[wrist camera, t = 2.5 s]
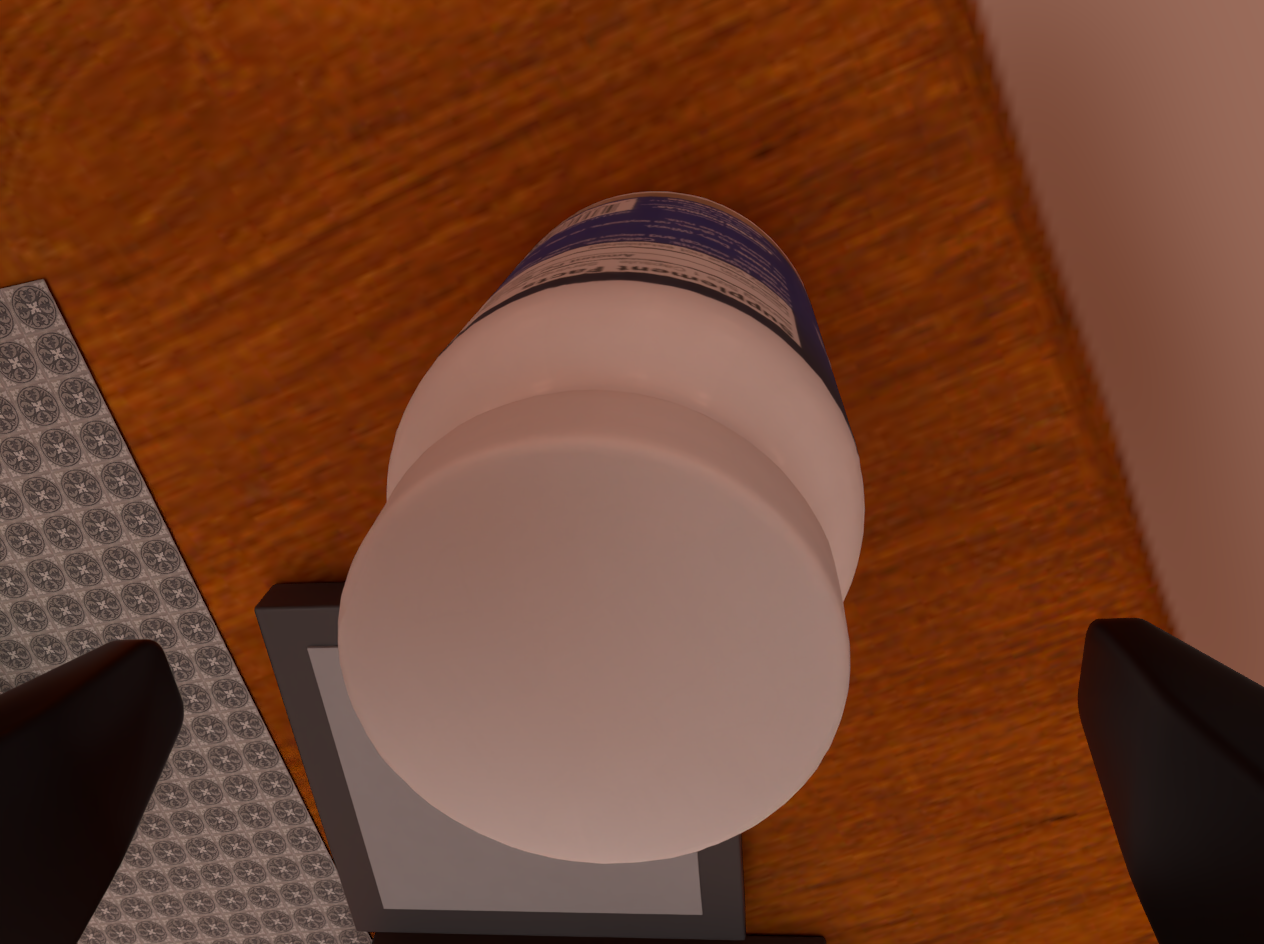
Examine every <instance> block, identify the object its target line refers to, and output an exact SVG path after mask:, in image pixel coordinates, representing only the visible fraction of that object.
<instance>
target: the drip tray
mask: <svg viewBox="0 0 1264 944" xmlns="http://www.w3.org/2000/svg"><path fill="white" fill-rule="evenodd" d="M344 585H345V582H338V583H301V584H275V585H273V586H272V587H271V588H270V590H269V591H268V592H267V593H266V594H265V596H264V597H263V598H262V599H261V601H260V602H259V603H258V604H257V605H256V607H255V614H256V617H257V620H258V623H259V626H260V630H261V633H262V636H263V639H264V642H265V645H266V648H267V652H268V655H269V658H270V661H271V664H272V667H273V670H274V674H275V677H276V680H277V683H278V686H279V689H280V693H281V696H282V699H283V702H284V705H285V708H286V711H287V715H288V718H289V721H290V724H291V727H292V730H293V733H294V737H295V740H296V743H297V746H298V749H299V752H300V755H301V759H302V762H303V765H304V768H305V771H306V774H307V778H308V781H309V784H310V787H311V790H312V793H313V796H314V800H315V803H316V806H317V809H318V812H319V815H320V818H321V822H322V825H323V828H324V831H325V834H326V837H327V840H328V844H329V847H330V850H331V853H332V856H333V859H334V863H335V866H336V869H337V872H338V875H339V878H340V881H341V885H342V888H343V891H344V894H345V897H346V900H347V903H348V907H349V910H350V913H351V916H352V919H353V922H354V925H355V929H356V931H358V932H393V933H437V934H481V935H525V936H569V937H613V938H657V939H701V940H745V938H746V918H745V893H744V875H743V857H742V839H741V833H740V834H738V835H736V836H734V837H732V838H730V839H728V840H725V841H723V842H721V843H719V844H716V845H713V846H710V847H707V848H705V849H703V850H700V851H697V852H693V853H689V854H685V855H682V856H678V857H674V858H669V859H661V860H653V861H645V862H634V863H612V864H600V863H588V862H576V861H568V860H562V859H555V858H550V857H546V856H542V855H538V854H534V853H529V852H526V851H523V850H520V849H516V848H513V847H510V846H508V845H505V844H503V843H501V842H498V841H496V840H494V839H491V838H489V837H487V836H484V835H482V834H479V833H477V832H476V831H474V830H472V829H470V828H468V827H466V826H464V825H463V824H461V823H459V822H457V821H455V820H453V819H452V818H450V817H449V816H447V815H446V814H444V813H443V812H441V811H440V810H438V809H437V808H435V807H433V806H432V805H431V804H429V803H428V802H427V801H426V800H425V799H423V798H422V797H421V796H420V795H418V794H417V793H416V792H415V791H414V790H413V789H412V788H411V787H410V786H409V785H408V784H407V783H406V782H405V781H404V780H403V779H402V778H401V777H400V776H399V775H398V774H396V773H395V772H394V771H393V770H392V768H391V767H390V766H389V765H388V764H387V763H386V762H385V761H384V759H383V758H382V757H381V756H380V755H379V753H378V751H377V750H376V748H375V746H374V745H373V743H372V742H371V740H370V739H369V737H368V736H367V734H366V732H365V730H364V728H363V726H362V724H361V722H360V720H359V718H358V716H357V714H356V712H355V710H354V709H353V706H352V704H351V701H350V698H349V696H348V693H347V689H346V686H345V682H344V678H343V674H342V670H341V666H340V660H339V650H338V617H339V609H340V601H341V595H342V592H343V588H344Z"/></svg>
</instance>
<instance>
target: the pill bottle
mask: <svg viewBox="0 0 1264 944" xmlns="http://www.w3.org/2000/svg"><path fill="white" fill-rule="evenodd" d="M864 513H865V504H864V488H863V478H862V473H861V469H860V459H859V455H858V451H857V447H856V443H855V439H854V436H853V434H852V431H851V428H850V425H849V422H848V419H847V416H846V412H845V409H844V406H843V403H842V400H841V397H840V394H839V391H838V388H837V385H836V381H835V378H834V375H833V372H832V369H831V365H830V361H829V359H828V357H827V354H826V350H825V347H824V344H823V340H822V337H821V334H820V331H819V328H818V325H817V322H816V318H815V315H814V312H813V309H812V306H811V303H810V300H809V298H808V295H807V293H806V290H805V287H804V284H803V282H802V281H801V279H800V277H799V275H798V273H797V271H796V269H795V268H794V266H793V265H792V263H791V262H790V260H789V259H788V258H787V256H786V255H785V254H784V252H783V251H782V250H781V249H780V247H779V246H778V245H777V244H776V243H775V242H774V241H773V240H772V239H771V238H770V237H769V236H768V235H767V234H766V233H765V232H764V231H763V230H761V229H760V228H759V227H758V226H756V225H755V224H754V223H753V222H751V221H750V220H748V219H747V218H745V217H744V216H742V215H740V214H739V213H737V212H735V211H734V210H732V209H730V208H728V207H726V206H724V205H721V204H719V203H716V202H714V201H711V200H709V199H705V198H702V197H698V196H694V195H689V194H683V193H676V192H667V191H648V192H637V193H630V194H624V195H619V196H615V197H612V198H608V199H605V200H602V201H600V202H597V203H595V204H592V205H590V206H588V207H586V208H584V209H582V210H580V211H578V212H577V213H575V214H574V215H572V216H570V217H569V218H567V219H566V220H565V221H563V222H562V223H560V224H559V225H558V226H557V227H555V228H554V229H553V230H551V231H550V232H549V233H548V234H547V235H546V236H545V237H544V238H543V239H542V240H540V241H539V242H538V244H537V245H536V246H535V247H534V248H533V249H532V250H531V251H530V252H529V253H528V255H527V256H526V257H525V258H524V259H523V260H522V261H521V262H520V263H519V264H518V265H517V267H516V268H515V269H514V271H513V272H512V273H511V274H510V275H509V276H508V278H507V279H506V280H505V281H504V282H503V283H502V285H501V286H500V287H499V288H498V289H497V291H496V292H495V293H494V294H493V295H492V296H491V297H490V298H489V299H488V301H487V302H486V303H485V304H484V305H483V306H482V307H481V309H480V310H479V311H478V312H477V313H476V314H475V315H474V316H473V318H472V319H471V320H470V321H469V322H468V323H467V325H466V326H465V327H464V328H463V329H462V330H461V331H460V332H459V334H458V335H457V336H456V337H455V338H454V339H453V340H452V341H451V342H450V344H449V345H448V346H447V347H446V348H445V349H444V350H443V351H442V352H441V353H440V355H439V356H438V358H437V359H436V360H435V362H434V363H433V365H432V366H431V368H430V369H429V370H428V372H427V373H426V374H425V376H424V377H423V378H422V380H421V382H420V383H419V385H418V387H417V389H416V390H415V392H414V394H413V395H412V397H411V399H410V401H409V403H408V405H407V407H406V409H405V411H404V414H403V416H402V419H401V421H400V424H399V427H398V429H397V432H396V436H395V440H394V444H393V448H392V452H391V457H390V461H389V469H388V478H387V503H386V504H385V506H384V508H383V509H382V511H381V513H380V514H379V516H378V517H377V519H376V521H375V522H374V524H373V525H372V527H371V529H370V530H369V532H368V534H367V535H366V537H365V538H364V540H363V542H362V543H361V545H360V547H359V549H358V551H357V553H356V555H355V557H354V559H353V561H352V564H351V567H350V569H349V572H348V575H347V578H346V582H345V585H344V588H343V592H342V595H341V601H340V609H339V617H338V650H339V660H340V666H341V670H342V674H343V678H344V682H345V686H346V689H347V693H348V696H349V698H350V701H351V704H352V706H353V709H354V710H355V712H356V714H357V716H358V718H359V720H360V722H361V724H362V726H363V728H364V730H365V732H366V734H367V736H368V737H369V739H370V740H371V742H372V743H373V745H374V746H375V748H376V750H377V751H378V753H379V755H380V756H381V757H382V758H383V759H384V761H385V762H386V763H387V764H388V765H389V766H390V767H391V768H392V770H393V771H394V772H395V773H396V774H398V775H399V776H400V777H401V778H402V779H403V780H404V781H405V782H406V783H407V784H408V785H409V786H410V787H411V788H412V789H413V790H414V791H415V792H416V793H417V794H418V795H420V796H421V797H422V798H423V799H425V800H426V801H427V802H428V803H429V804H431V805H432V806H433V807H435V808H437V809H438V810H440V811H441V812H443V813H444V814H446V815H447V816H449V817H450V818H452V819H453V820H455V821H457V822H459V823H461V824H463V825H464V826H466V827H468V828H470V829H472V830H474V831H476V832H477V833H479V834H482V835H484V836H487V837H489V838H491V839H494V840H496V841H498V842H501V843H503V844H505V845H508V846H510V847H513V848H516V849H520V850H523V851H526V852H529V853H534V854H538V855H542V856H546V857H550V858H555V859H562V860H568V861H576V862H588V863H600V864H612V863H634V862H645V861H653V860H661V859H669V858H674V857H678V856H682V855H685V854H689V853H693V852H697V851H700V850H703V849H705V848H707V847H710V846H713V845H716V844H719V843H721V842H723V841H725V840H728V839H730V838H732V837H734V836H736V835H738V834H740V833H742V832H744V831H746V830H748V829H750V828H752V827H754V826H755V825H757V824H758V823H760V822H761V821H762V820H764V819H765V818H767V817H768V816H770V815H771V814H772V813H773V812H775V811H776V810H777V809H778V808H780V807H781V806H782V805H784V804H785V803H786V802H787V801H788V800H789V799H790V798H791V797H792V796H793V795H794V794H795V793H796V792H797V791H798V790H799V789H800V788H801V787H802V786H803V785H804V784H805V783H806V782H807V780H808V779H809V778H810V777H811V776H812V774H813V773H814V772H815V771H816V769H817V768H818V766H819V764H820V762H821V760H822V759H823V757H824V755H825V754H826V752H827V751H828V749H829V748H830V745H831V743H832V741H833V738H834V736H835V733H836V731H837V729H838V726H839V723H840V720H841V718H842V714H843V710H844V707H845V703H846V698H847V694H848V689H849V678H850V643H849V637H848V630H847V624H846V617H845V611H844V605H843V601H844V599H845V597H846V595H847V593H848V590H849V588H850V585H851V583H852V580H853V577H854V574H855V570H856V567H857V564H858V559H859V555H860V550H861V544H862V538H863V531H864Z"/></svg>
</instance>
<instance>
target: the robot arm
mask: <svg viewBox="0 0 1264 944" xmlns="http://www.w3.org/2000/svg"><path fill="white" fill-rule="evenodd" d="M1078 708H1079V714H1080V719H1081V723H1082V726H1083V729H1084V732H1085V735H1086V739H1087V742H1088V745H1089V748H1090V752H1091V755H1092V758H1093V761H1094V764H1095V768H1096V771H1097V774H1098V777H1099V781H1100V784H1101V787H1102V790H1103V793H1104V797H1105V800H1106V803H1107V806H1108V810H1109V813H1110V816H1111V819H1112V822H1113V826H1114V829H1115V832H1116V835H1117V839H1118V842H1119V845H1120V848H1121V851H1122V854H1123V857H1124V860H1125V863H1126V866H1127V869H1128V872H1129V875H1130V877H1131V880H1132V882H1133V885H1134V887H1135V890H1136V892H1137V894H1138V897H1139V899H1140V902H1141V904H1142V906H1143V909H1144V911H1145V913H1146V915H1147V918H1148V920H1149V922H1150V924H1151V927H1152V929H1153V931H1154V933H1155V936H1156V938H1157V940H1158V943H1159V944H1264V687H1263V686H1261V685H1259V684H1258V683H1256V682H1254V681H1252V680H1250V679H1248V678H1247V677H1245V676H1243V675H1242V674H1240V673H1238V672H1236V671H1234V670H1233V669H1231V668H1229V667H1227V666H1225V665H1224V664H1222V663H1220V662H1218V661H1217V660H1215V659H1213V658H1211V657H1210V656H1208V655H1206V654H1204V653H1202V652H1201V651H1199V650H1197V649H1195V648H1194V647H1192V646H1190V645H1188V644H1186V643H1185V642H1183V641H1181V640H1179V639H1178V638H1176V637H1174V636H1172V635H1170V634H1169V633H1167V632H1165V631H1163V630H1162V629H1160V628H1158V627H1156V626H1154V625H1153V624H1151V623H1149V622H1147V621H1145V620H1143V619H1139V618H1113V619H1096V620H1095V621H1093V622H1092V623H1091V624H1090V625H1089V628H1088V630H1087V633H1086V638H1085V645H1084V652H1083V660H1082V667H1081V674H1080V681H1079V688H1078ZM183 720H184V703H183V700H182V697H181V694H180V692H179V689H178V687H177V684H176V681H175V679H174V676H173V673H172V671H171V668H170V665H169V663H168V660H167V658H166V655H165V652H164V650H163V648H162V647H161V646H160V645H159V644H158V643H157V642H155V641H153V640H151V639H127V640H115V641H111V642H108V643H106V644H104V645H102V646H100V647H98V648H96V649H94V650H92V651H90V652H88V653H85V654H83V655H81V656H79V657H77V658H75V659H73V660H71V661H69V662H67V663H65V664H63V665H61V666H58V667H56V668H54V669H52V670H50V671H48V672H46V673H44V674H42V675H40V676H38V677H36V678H33V679H31V680H29V681H27V682H25V683H23V684H21V685H19V686H17V687H15V688H13V689H11V690H9V691H6V692H4V693H2V694H0V944H77V943H78V941H79V939H80V938H81V936H82V934H83V932H84V930H85V929H86V927H87V925H88V923H89V921H90V920H91V918H92V916H93V914H94V912H95V911H96V909H97V907H98V905H99V904H100V902H101V900H102V898H103V896H104V895H105V893H106V891H107V889H108V887H109V886H110V884H111V882H112V880H113V878H114V876H115V874H116V872H117V870H118V869H119V867H120V865H121V863H122V861H123V859H124V856H125V854H126V852H127V850H128V848H129V846H130V844H131V842H132V839H133V837H134V835H135V833H136V830H137V828H138V826H139V824H140V821H141V819H142V817H143V814H144V812H145V810H146V808H147V805H148V803H149V801H150V799H151V796H152V794H153V792H154V790H155V787H156V785H157V783H158V780H159V778H160V776H161V774H162V771H163V769H164V767H165V765H166V762H167V760H168V758H169V755H170V753H171V751H172V749H173V746H174V744H175V742H176V740H177V737H178V735H179V733H180V731H181V728H182V725H183Z"/></svg>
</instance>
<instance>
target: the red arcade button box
mask: <svg viewBox="0 0 1264 944" xmlns="http://www.w3.org/2000/svg"><path fill="white" fill-rule="evenodd" d="M371 944H826V940H825V938H823V937H792V936H747V935H746V938H745V940H701V939H657V938H613V937H569V936H525V935H481V934H437V933H393V932H376V933H375V935H374V938H373V941H372V943H371Z"/></svg>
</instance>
